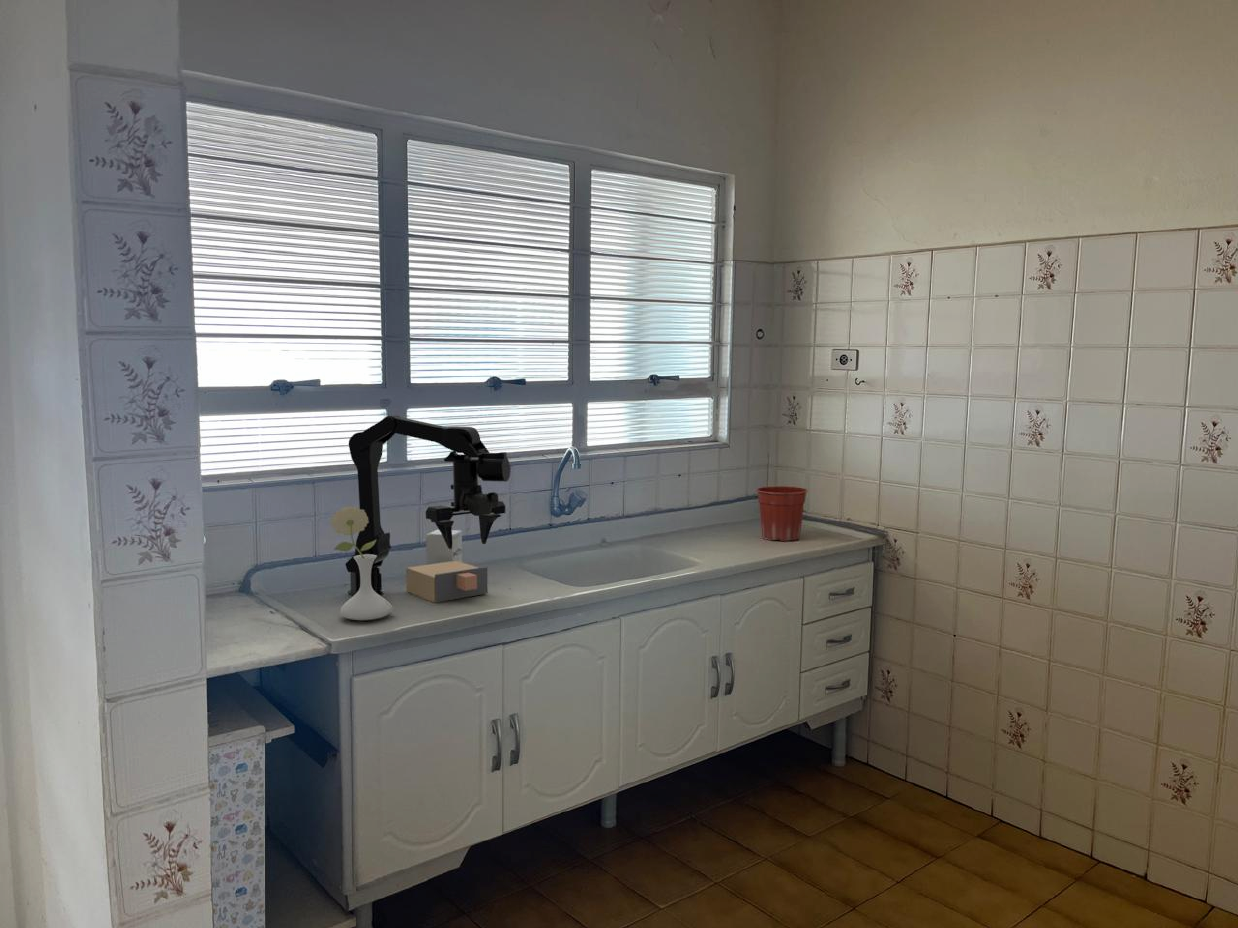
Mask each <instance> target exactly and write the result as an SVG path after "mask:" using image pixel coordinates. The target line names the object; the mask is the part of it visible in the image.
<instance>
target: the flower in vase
mask: <svg viewBox="0 0 1238 928" xmlns="http://www.w3.org/2000/svg"><path fill="white" fill-rule="evenodd" d="M367 523H369V521H368V518H367V516H366V513H365V512H364V510H360V509H359V507H358V506H354V507H353V506H352V505H350V506H348V507H345V506H343V507H342V508H341V509H338V510H337V511H335V513H334V515H333V516H332V519H331V520H330V524H331V527H332V528H334V529H333V530H334V532H336V533H337V534H344V536H351V538H350V539H351V542H348V541H342V542H340V543H338V544H337V545H336V546H335V547H334V550H335V551H341V552H349V551H350V550H351V549H353V547H354V549H355V548H356V549H357V550H358V552H359V553H360V555H356V556H354V555H353V556H354V557H353V556H352V557H353V558H354V559H355V560H356V562H357V564H358V566H359V570H360V579H361V582H360V589H359V591H358V592H357V593H356V594H355V595H354V596H353V595H352V597H350V598H349V599H348V600H347V601H346V602H345V603H343V605H342V606H341V607H340V610H339V614H340V615H341V616H342V617H343V618H345V619H349V620H354V621H370V620H371V621H372V620H377V619H381V618H384V617H387V616H388V615H390V614H391V613H392V611H393V610H394V609H393V606H392V603H390V602H389V601H388V600H387V599H385V598H384V597H383V596H382V595H381V594H379V595H378V594H377V593H376V592H375V591H374V590H373V588H372V586H371V569H372V565H373V562H374V560H375V559H376V557H377V556H376V555H372V554H363V555H362V553H361V552H360V550H359V549H358V548H357V547H356V543H355V542H354V537H353V536H354V534H359V532H360V531H363V530H364V527H366V526H367ZM375 542H376V540H374V541H372V542H370V543H367V544H365V545H364V546H363V547H362V548H361V551H364V550H368V549H370V548H371V547H372V546H373V545H374V544H375Z"/></svg>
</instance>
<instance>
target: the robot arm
mask: <svg viewBox="0 0 1238 928" xmlns="http://www.w3.org/2000/svg"><path fill="white" fill-rule="evenodd" d="M396 434H397V435H403V436H407V437H410V438H415V439H421V440H424V441H429V442H433V443H437V444H439V445H441V447H444V448H445V449H448V450H450V452H449V453H448V455H447V456H446V457H445V458H444V459H443V462H445V463H446V462H449V463H452V473H453V474H452V478H453V479H452V480H453V481H452V482H453V483H452V484H450V490H453V501H451V502H450V507H449V506H446V505H442V504H441V505H431V506H428V507H427V508H426V510H425V519H426V520H430V522H431V523H435V525H436V527H437V528H438V530H440V532H441V534H442V536H443V538H444V540H445V542H446V544H447V547H448V548H449V549H452V530H453V525H454V523H455V521H454V520H452V518H453V517H454V516H460V515H461V516H463V515H469V514H471V515H473V516H476V517H478V523H479V533H480V539H481V544H482V545H485V544H486V543H487V540H488V537H489V534H490V532H491V528H492V526H493V524H494V522H495V521H496V520H497V519H498V518H501V517H502V515H501V514H506V511H507V510H506V504H505V502H503V500H502V501H501V500H499V494H498V493H497V492H495V491H494V492H488V493H483V488H482V485H481V484H479V479H481V481H483V482H505V483H506V482H508V481H509V480H510V476H511V470H512V468H511V465H510V461H509V458H508V456H507V455H508V454H507V452H506V451H504V452H503V451H502V452H490V451H489V449H487V447H486V445H485V444H484V443H483V441H482V440H481V435H480V433H479V431H478V430H477V429H476V428H475V427H472V426H458V425H457V426H447V425H446V426H443V425H438V424H434V423H429V422H426V421H425V422H424V421H420V420H417V419H412V418H406V417H402V416H400V415H398V414H396V415H395V414H394V415H386V416H385V417H383V419H381V420H380V421H378V422H377V423H375V424H374V425H372V426H370V427H368V428H366V429H365V430H363V431H360V432H356V433H354V434H352V436H351V437H350V438H349V440H348V448H349V453H350V458H351V460H352V462H353V464H354V466H355V468H356V471H357V485H358V501H359V504H358V505H359V507H358V508H359V510H364V512H365V513H366V516H367V518H368V521H369V523H367V526H366V527H364V530H363V531H360V532H358V533H357V534H358V535H357V537H356V540H355V545H356V547H357V548H358V549H359V550H360V552H361V553H362V555H363V554H372V555H376V556H377V557H376V559H375V560H374V562H373V565H372V569H371V586H372V588H373V590H374V591H375V592H376V593H377V594H378V595H383V594H384V591H382V590H383V589H382V588H383V584H382V583H383V582H382V580H383V579H382V576H383V575H382V573H380V572H381V571H380V569H381V568H379V567H381V566H382V565H383V562H384V560H385V559H386V558H387V557H388V555H389V553H390V550H392V546H391V541H390V540H391V533H390V532H385V531H384V530H383V528H382V525H381V508H380V507H381V506H380V492H379V491H380V489H379V488H380V487H379V474H378V473H379V470H378V469H379V465H380V462H381V460H382V456H383V451H384V445H385V443H387V442H388V441H389V440H391V439H392V438H393V437H394V436H395V435H396ZM374 540H376V542H375V544H374V545H373V546H372V547H371V548H370V549H368V550H364V551H361V548H362V547H363V546H364V545H365V544H367V543H370V542H372V541H374ZM356 555H360V553H359V552H358V550H357V549H356V548H355V547H354V554H353V555H352V556H351V557H350V558H349V559H348V561H347V562H345V568H346V571H347V572H348V573H349V575H350V577H349V578H350V590H348V591H347V593H348V595H352V597H353V596H354V595H355V594H356V593H357V592H358V591H359V589H360V582H361V579H360V570H359V566H358V564H357V562H356V560H355V559H354V558H353V557H354V556H356Z"/></svg>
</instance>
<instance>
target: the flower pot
mask: <svg viewBox="0 0 1238 928" xmlns="http://www.w3.org/2000/svg"><path fill="white" fill-rule="evenodd" d="M755 491H756V492H757V498H758V504H759V513H760V526H761V538H763V537H764V538H767V539H771V540H770V541H772V540H776V541H781V542H791V541H790V540H795V541H797V539H798V540H799V539H801V532H802V523H803V522H802V521H803V514H804V504H805V502H806V496H807V493H808V491H809V489H807V488H803V487H799V486H784V485H783V486H782V485H781V486H776V485H775V486H763V487H762V486H761V487H760V486H759V487H757V488H755ZM764 538H763V539H764ZM788 540H789V541H788Z"/></svg>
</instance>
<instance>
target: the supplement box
mask: <svg viewBox="0 0 1238 928" xmlns="http://www.w3.org/2000/svg"><path fill="white" fill-rule="evenodd" d="M462 535H463V531H462V530H457V529H452V549H449V548H448V547H447V544H446V542H445V540H444V538H443V536H442V534H441V532H440V530H439V529H435V530H434V531H431V532H429V533H427V534H425V544H426V545H425V546H426V547H425V548H426V549H425V552H426V556H425V557H426V560H425V561H426V564H425V565H429V564H436V563H443V562H450V561H459V562H462V563H463V536H462Z"/></svg>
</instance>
